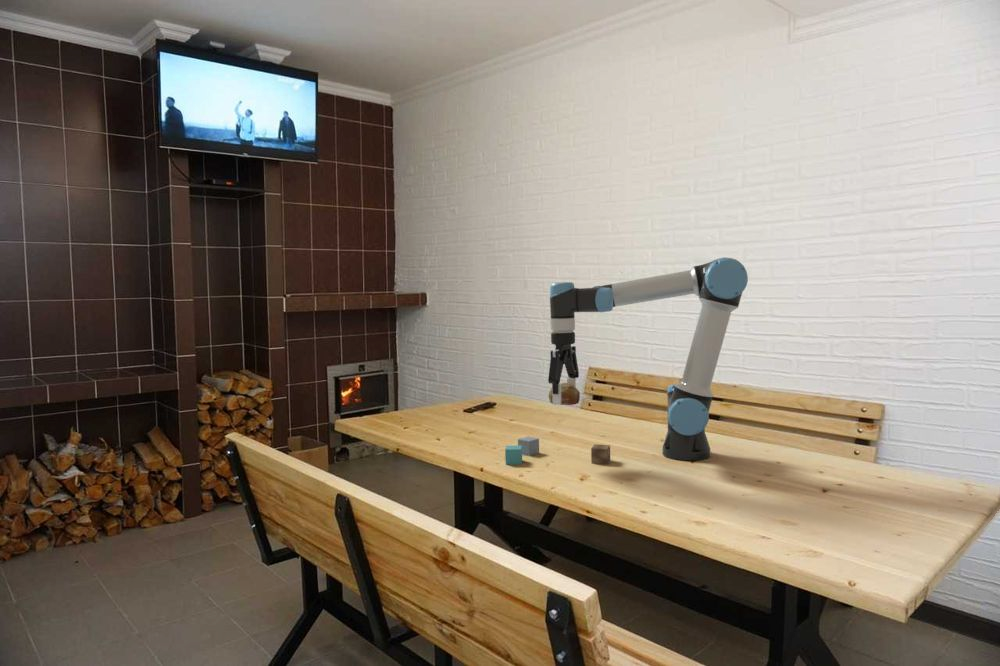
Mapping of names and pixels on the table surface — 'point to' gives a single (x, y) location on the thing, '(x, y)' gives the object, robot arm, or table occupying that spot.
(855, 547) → the table surface
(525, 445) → the slate grey block
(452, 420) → the table surface
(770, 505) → the table surface
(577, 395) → the bread roll
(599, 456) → the walnut block
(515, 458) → the dark teal block
